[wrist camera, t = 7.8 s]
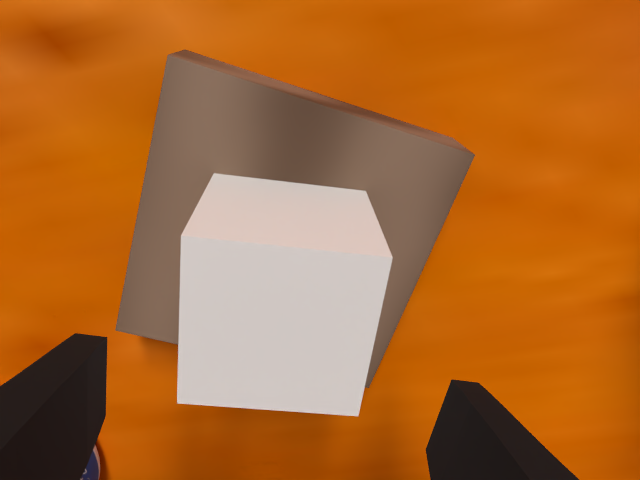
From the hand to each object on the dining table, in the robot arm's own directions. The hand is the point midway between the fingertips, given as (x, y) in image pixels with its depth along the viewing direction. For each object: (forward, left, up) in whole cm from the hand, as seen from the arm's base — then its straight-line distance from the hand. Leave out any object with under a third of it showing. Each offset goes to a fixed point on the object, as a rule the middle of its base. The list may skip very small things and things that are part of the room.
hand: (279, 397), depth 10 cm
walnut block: (0, 0, -10) cm, 10 cm away
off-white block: (0, 0, -7) cm, 7 cm away
